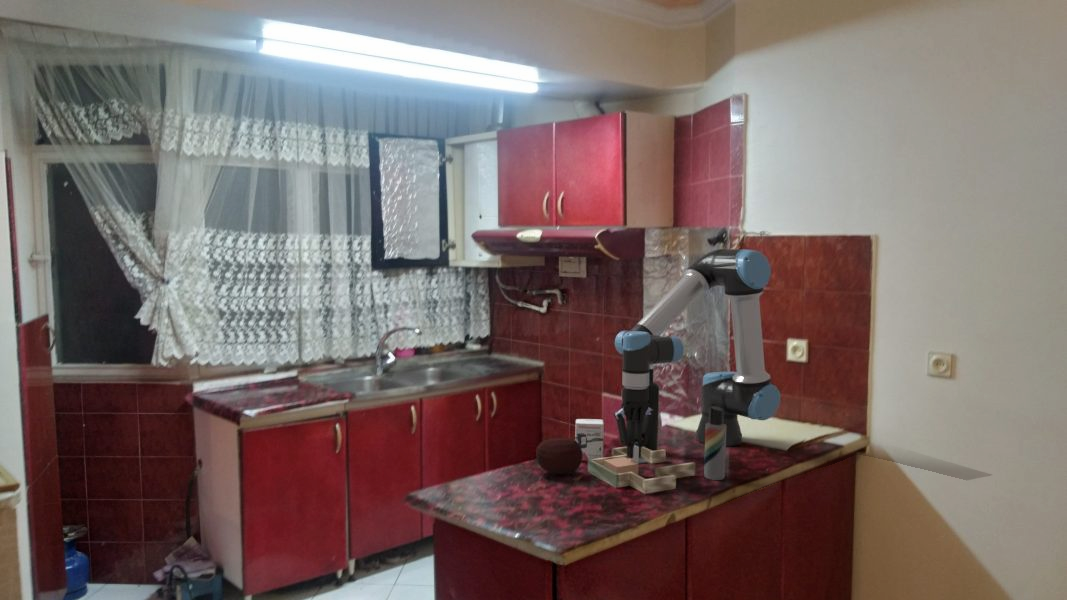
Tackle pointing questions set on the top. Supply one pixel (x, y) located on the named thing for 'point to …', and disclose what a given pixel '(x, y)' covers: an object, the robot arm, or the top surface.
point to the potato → (559, 455)
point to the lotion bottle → (715, 445)
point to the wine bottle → (653, 405)
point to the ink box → (590, 438)
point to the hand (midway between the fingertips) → (633, 468)
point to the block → (621, 465)
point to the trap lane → (661, 482)
